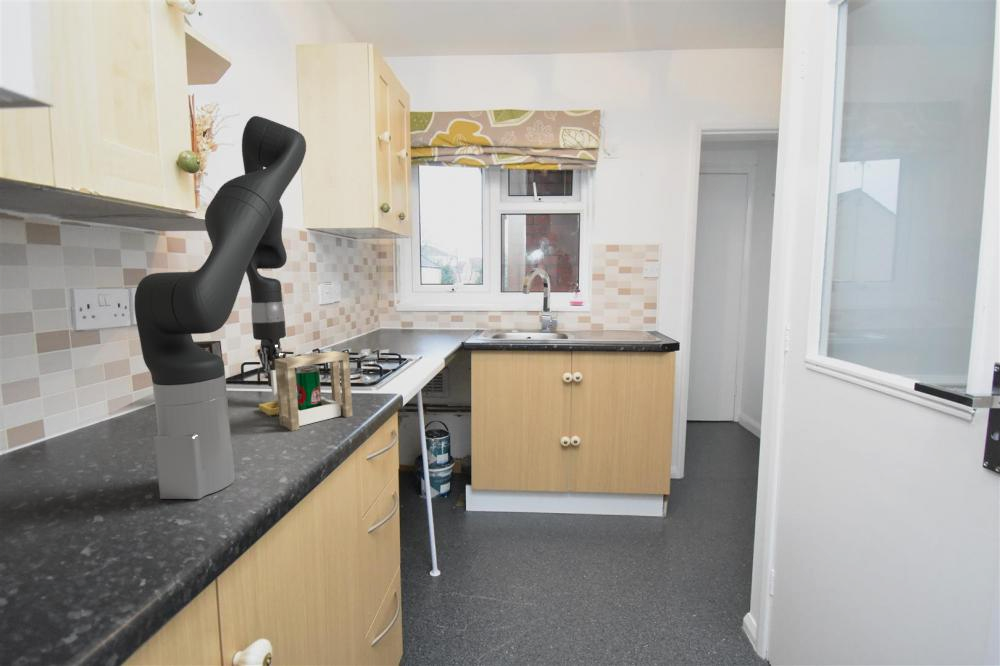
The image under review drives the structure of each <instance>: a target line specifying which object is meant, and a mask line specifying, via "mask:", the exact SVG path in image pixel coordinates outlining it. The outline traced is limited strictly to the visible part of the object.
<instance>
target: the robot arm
mask: <svg viewBox="0 0 1000 666" xmlns="http://www.w3.org/2000/svg"><path fill="white" fill-rule="evenodd" d="M306 142H307V140H306V139H305V136H304V135H303V134H302V133H301V132H299V131H298V130H296V129H295V128H292V127H289V126H286V125H284V124H282V123H279V122H276V121H273V120H271V119H268V118H265V117H262V116H259V115H253V116H252V117H250V118H249V119H248V121H247V122H246V125H244V128H243V131H242V137H241V155H242V162H243V164H242V165H243V171H244V174H242V175H238V176H236V177H234V178H231V179H229V180H228V181H226V182H224V184H222V185H221V186H220V187H219V189H218V190H217V191H216V193H215V195H214V196H213V198H212V199H211V201H210V203H209V205H208V206H207V208H206V210H205V214H204V225H205V230H206V233H207V235H208V237H209V241H210V243H211V251H210V252H209V255H208V256H207V258H206V260H205V261H204V263H203V265H202V266H201V267H199V268H198V269H197V270H195V271H179V272H178V271H173V272H171V271H169V272H167V271H166V272H154V273H150V274H148V275H146V276H145V277H143V278H142V279H141V280H140V281H139V282H138V285H137V287H136V290H135V293H134V314H135V315H134V316H135V322H136V325H137V326H136V327H137V333H138V337H139V342H140V347H141V353H142V358H143V362H144V364H145V366H146V368H147V369H148V370H149V372H150V374H151V381H152V382H151V383H152V389H153V397H154V406H155V415H156V425H157V435H155V436H154V438H153V447H154V456H155V457H154V458H155V463H156V472H157V481H158V488H159V489H158V490H159V497H160V499H161V500H163V499H164V500H166V499H167V500H173V499H174V500H201V499H202V498H204V497H206V496H207V495H210V494H213V493H217V492H219V491H221V490H223V489H225V488H226V487H229V486H230V485H232V484H233V483H234V481H235V479H236V477H235V476H236V475H235V467H234V465H235V463H234V455H233V454H234V453H233V446H232V445H233V443H232V435H231V425H230V415H229V414H230V413H229V403H228V402H229V401H228V393H227V392H228V391H227V380H226V371H225V363H224V362H225V361H224V359H223V357H222V358H221V357H220V356H218V355H216V354H213V353H211V352H208V351H206V350H204V349H202V348H201V347H199V346H198V345H197V344H196V343H195V342H196V341H194V338H193V336H192V335H201V334H211V333H214V332H216V331H219V330H220V329H221V328H223V326H224V325H225V324H226V323H227V321H228V320H229V318H230V316H231V313H232V311H233V308H234V306H235V304H236V303H235V302H236V300H237V298H238V295H239V292H240V290H241V285H242V282H243V280H244V276H245V274H246V276H247V279H248V282H249V290H250V300H251V301H250V302H251V310H250V312H251V324H252V325H251V326H252V335H253V336H252V337H253V340H255V341H256V340H257V341H260V346H259V349H257V351H256V352H257V355H258V357H259V361H260V363H261V366H262V369H263V370H265V373H267V385H268V386H269V387H270V388H272V386H271V374H270V371H271V370H275V359H281V358H287V352H285V351H284V352H282V344H281V341H280V340H281V339H283V338H285V337H287V332H286V330H287V329H286V320H285V318H286V317H285V309H284V305H283V295H282V294H283V293H282V284H281V281H280V280H279V279H277V278H272V277H267V276H264V275H261V274H260V273H259V271H258V270H260V269H261V270H262V269H263V270H266V269H267V270H269V269H270V270H272V269H275V270H277V269H278V270H279V269H281V268H283V267H284V266H285V265H286V263H287V259H288V257H287V251H286V248H285V245H284V241H283V237H282V232H283V223H284V222H283V221H284V212H283V211H284V210H283V207H282V204H281V202H280V200H281V198H282V196H283V195H284V193H285V191H286V189H287V188H288V187H289V185H290V184H291V182H292V181H293V179H294V178H295V176H296V174H297V173H298V172H299V170H300V168H301V166H302V164H303V161H304V160H305V156H306V152H307V143H306Z"/></svg>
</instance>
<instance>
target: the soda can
mask: <svg viewBox="0 0 1000 666" xmlns="http://www.w3.org/2000/svg"><path fill="white" fill-rule="evenodd" d="M320 375H321V374H320V369H319V367H318V365H317V364H313V365H307V366H301V367H296V370H295V377H296V391H297V400H298V410H300V411H301V410H306V409H310V408H314V407H319V406H322V402H321V397H322V392H321V391H322V390H321V377H320Z"/></svg>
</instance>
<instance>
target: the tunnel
mask: <svg viewBox="0 0 1000 666" xmlns="http://www.w3.org/2000/svg"><path fill="white" fill-rule="evenodd" d="M326 363H329V369H330V370H329V371H330V383H331V400H333V401H335V402H338V403H340V409H341V416H342V417H344V418H350V417H353V416H354V415H353V414H354V413H353V401H352V387H351V386H352V384H351V370H350V369H351V368H350V353H349V352H348V353H347V352H342V351H336V350H331V351H325V352H319V353H310V354H304V355H298V356H297V355H296V356H289V357H285V358H281V359H275V370H276V382H277V394H278V396H277V401H278V407H279V415H278V418H279V419H278V420H279V426H281V425H282V426H281V427H284V426H285V427H284V428H286V427H287V429H288V430H289V431H291V432H295V431H294V430H296V431H299V430H300V426H299V417H298V404H297V386H296V368H297V367H301V366H307V365H318V364H326ZM298 429H299V430H298Z"/></svg>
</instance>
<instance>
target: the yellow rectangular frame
mask: <svg viewBox="0 0 1000 666" xmlns="http://www.w3.org/2000/svg"><path fill="white" fill-rule="evenodd" d="M260 411H261V412H260ZM258 412H260V413H262V412H263V413H262V414H264V413H265V414H264V415H266V414H267V415H266V416H268V415H269V416H268V417H270V416H272V417H274V416H273V415H276V416H278V415H277V414H279V407H278V400H274V401H270V402H264V403H259V404H258Z"/></svg>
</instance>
